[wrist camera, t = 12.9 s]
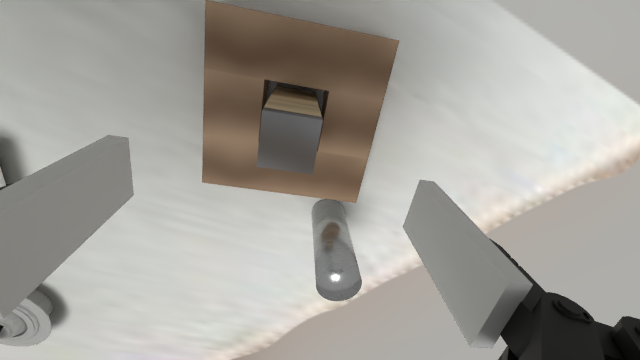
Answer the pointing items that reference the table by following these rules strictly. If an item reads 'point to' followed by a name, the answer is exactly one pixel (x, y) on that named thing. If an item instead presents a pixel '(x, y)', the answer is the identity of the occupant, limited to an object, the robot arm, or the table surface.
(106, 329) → the table surface
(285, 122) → the square bit
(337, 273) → the round bit
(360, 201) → the table surface
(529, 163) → the table surface
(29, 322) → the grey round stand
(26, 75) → the table surface
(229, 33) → the bore block
